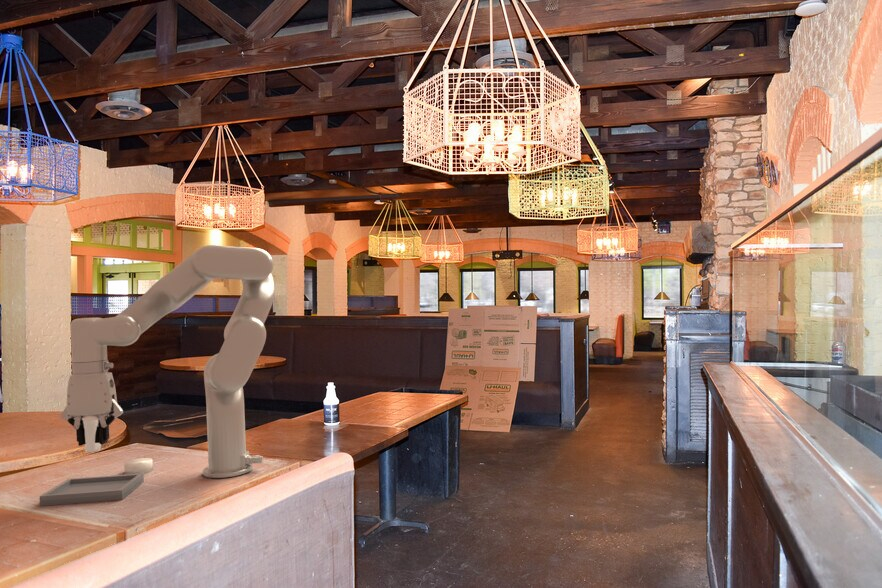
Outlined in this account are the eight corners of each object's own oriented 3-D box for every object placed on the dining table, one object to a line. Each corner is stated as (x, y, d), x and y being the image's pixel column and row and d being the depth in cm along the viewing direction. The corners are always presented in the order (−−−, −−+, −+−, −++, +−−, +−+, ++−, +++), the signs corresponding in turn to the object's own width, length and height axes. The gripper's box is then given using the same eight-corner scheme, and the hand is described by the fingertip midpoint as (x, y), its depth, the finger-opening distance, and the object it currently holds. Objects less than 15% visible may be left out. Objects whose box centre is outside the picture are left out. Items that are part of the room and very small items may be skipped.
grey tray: (143, 481, 158) (143, 473, 158) (122, 499, 144) (122, 490, 144) (68, 487, 156) (68, 478, 156) (39, 505, 142) (39, 496, 142)
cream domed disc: (156, 467, 172) (156, 457, 172) (147, 474, 165) (147, 463, 165) (130, 469, 172) (129, 458, 172) (120, 476, 165) (119, 465, 165)
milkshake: (97, 453, 147) (96, 411, 147) (77, 452, 148) (77, 411, 149) (110, 448, 152) (110, 408, 152) (91, 448, 153) (91, 407, 153)
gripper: (132, 364, 155) (135, 437, 155) (60, 368, 153) (64, 442, 153) (120, 368, 148) (123, 445, 148) (45, 372, 145) (48, 450, 145)
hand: (93, 442), depth 150 cm, fingers closed on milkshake, 4 cm apart
